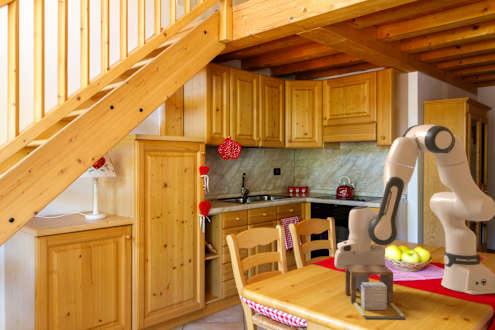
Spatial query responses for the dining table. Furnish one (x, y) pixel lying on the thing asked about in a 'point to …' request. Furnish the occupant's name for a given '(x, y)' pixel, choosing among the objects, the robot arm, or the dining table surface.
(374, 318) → the dark grey bar
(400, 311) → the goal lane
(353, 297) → the tunnel
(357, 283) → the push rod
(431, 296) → the dining table surface
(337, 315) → the dining table surface
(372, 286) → the medicine box
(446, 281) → the robot arm
